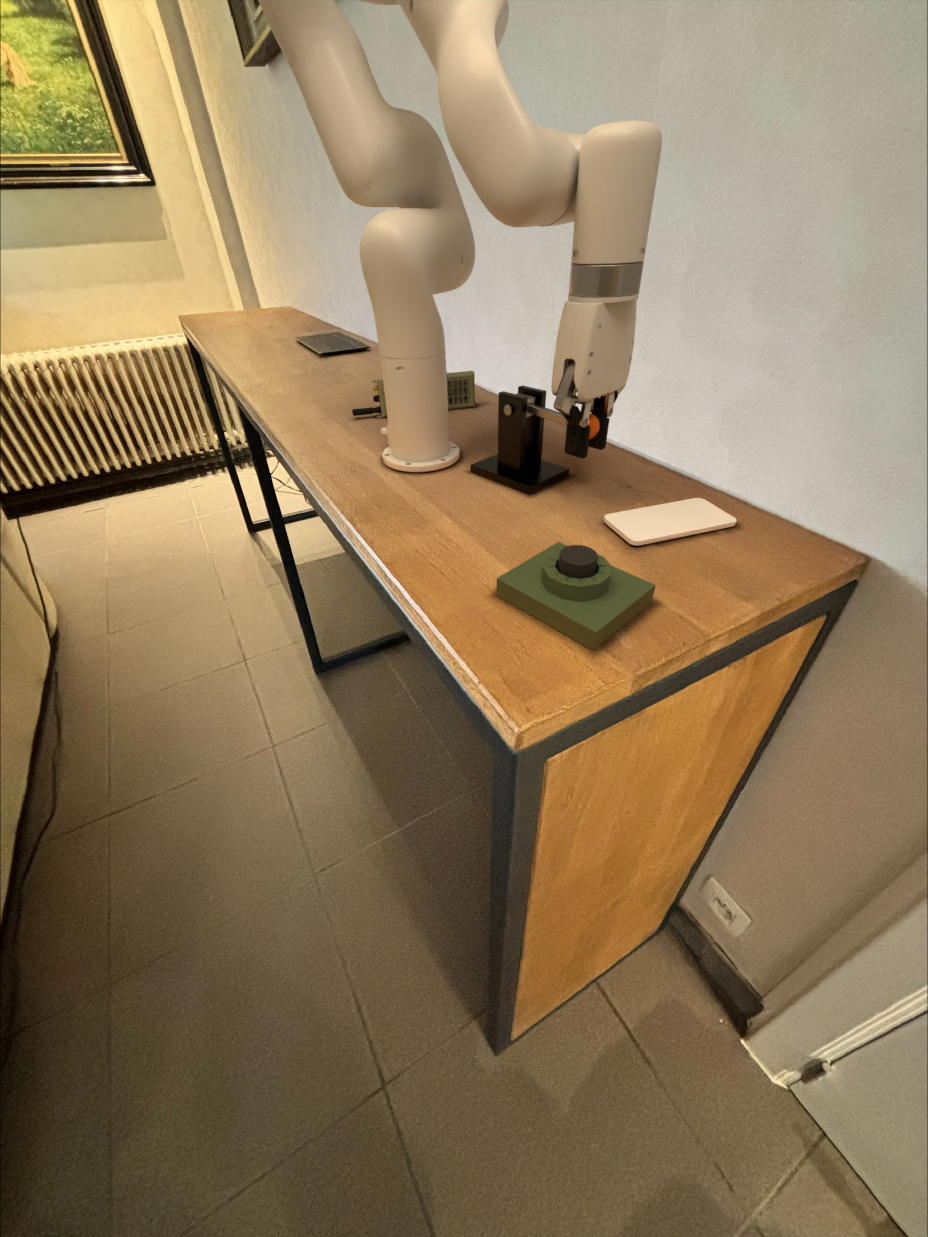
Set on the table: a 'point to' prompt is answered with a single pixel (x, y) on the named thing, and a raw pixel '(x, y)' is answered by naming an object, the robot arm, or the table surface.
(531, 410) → the switch lever
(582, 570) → the push button
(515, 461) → the switch bracket
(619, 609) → the button box
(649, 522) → the smartphone
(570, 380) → the robot arm
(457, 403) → the handheld radio
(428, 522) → the table surface
